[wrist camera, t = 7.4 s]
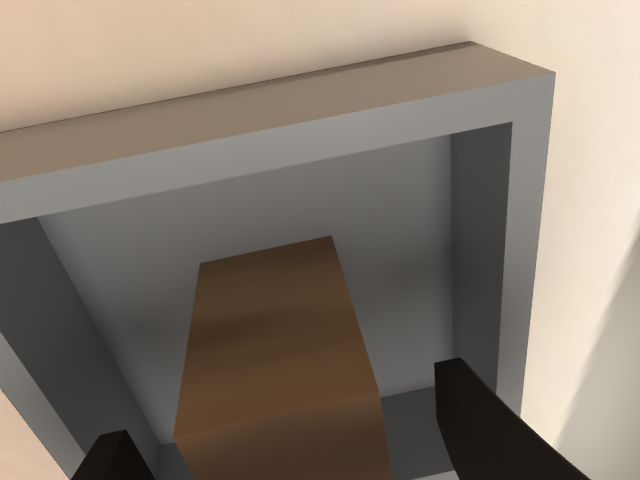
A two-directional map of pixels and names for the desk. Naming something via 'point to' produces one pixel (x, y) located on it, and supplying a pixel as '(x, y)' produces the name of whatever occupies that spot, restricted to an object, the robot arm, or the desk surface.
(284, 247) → the walnut block
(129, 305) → the grey bin
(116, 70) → the desk surface
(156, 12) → the desk surface
